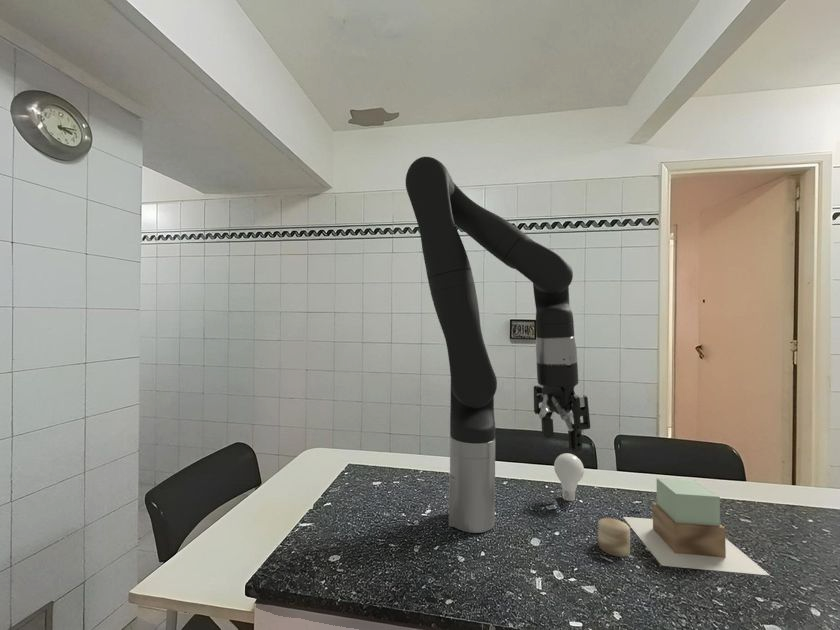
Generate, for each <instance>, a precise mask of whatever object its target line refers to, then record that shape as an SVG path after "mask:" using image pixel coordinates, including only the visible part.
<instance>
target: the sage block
mask: <svg viewBox="0 0 840 630" xmlns="http://www.w3.org/2000/svg"><path fill="white" fill-rule="evenodd" d="M656 503H657V505H658V506H659V507H660V508H661V509H662V510H663V511H665V512H666V513H667V514H668V515H669V516H670V517H671V518H672V519H673V520H674V521H675V522H676V523H686V524H699V525H712V526H720V524H721V496H719V495H718V494H716V493H715V492H713V491H712V490H710V489H709V488H708V487H706V486H705V485H703V484H702V483H700V482H699V481H697V480H695V479H694V480H693V479H682V478H681V479H678V478H662V477H656Z"/></svg>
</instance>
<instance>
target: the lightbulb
mask: <svg viewBox="0 0 840 630" xmlns="http://www.w3.org/2000/svg"><path fill="white" fill-rule="evenodd" d="M553 467H554V472H555V474H556V476H557V478H558V480H559V481H560V485H561V488H562V499H563V500H564V501H568V502H574V501H575V500H576V490H577V487H578V483H579V482H580V481H581V480H582V478H583V476H584V475H585V473H584V472H585V469H584V468H585V466H584V464H583V462H582V461H581V459H580V458H578V456H576V455H575V454H572V453H567V452H566V453H561V454H560V455H557V457H556V458H555V461H554V464H553Z"/></svg>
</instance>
